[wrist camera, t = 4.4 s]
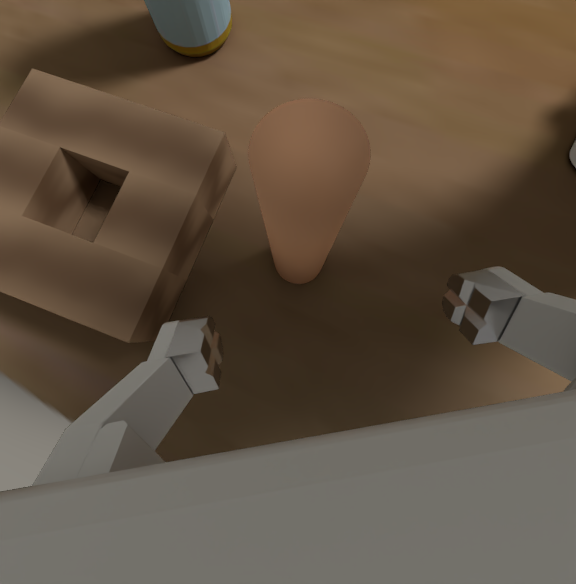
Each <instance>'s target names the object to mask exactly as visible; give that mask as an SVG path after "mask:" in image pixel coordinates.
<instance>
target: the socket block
mask: <svg viewBox="0 0 576 584" xmlns="http://www.w3.org/2000/svg"><path fill="white" fill-rule="evenodd" d="M235 170H236V164H235V161H234V158H233V155H232V152H231V149H230V146H229V143H228V140H227V137H226V134H225V132H223V131H220V130H217V129H214V128H211V127H208V126H205V125H202V124H199V123H196V122H193V121H190V120H187V119H184V118H181V117H178V116H175V115H172V114H169V113H166V112H163V111H160V110H157V109H154V108H151V107H148V106H145V105H141V104H138V103H135V102H132V101H129V100H126V99H123V98H120V97H117V96H114V95H111V94H108V93H105V92H102V91H99V90H96V89H93V88H90V87H87V86H84V85H81V84H78V83H75V82H72V81H69V80H66V79H63V78H60V77H57V76H54V75H51V74H48V73H45V72H42V71H39V70H36V69H33V68H32V70H31V71H30V73H29V75H28V76H27V78H26V80H25V81H24V83H23V85H22V86H21V88H20V89H19V91H18V93H17V94H16V96H15V98H14V99H13V101H12V103H11V104H10V106H9V108H8V109H7V111H6V113H5V114H4V116H3V118H2V119H1V121H0V292H2V293H5V294H7V295H10V296H12V297H15V298H17V299H20V300H22V301H25V302H27V303H30V304H32V305H35V306H37V307H40V308H42V309H45V310H47V311H50V312H52V313H55V314H57V315H60V316H62V317H65V318H67V319H70V320H72V321H75V322H77V323H80V324H82V325H85V326H87V327H90V328H92V329H95V330H97V331H100V332H102V333H105V334H107V335H110V336H112V337H115V338H117V339H120V340H122V341H125V342H127V343H136V342H150V341H156V338H157V336H158V334H159V331H160V329H161V327H162V325H163V324H164V323H166V322H168V321H169V319H170V317H171V315H172V312H173V310H174V308H175V306H176V303H177V301H178V299H179V297H180V294H181V292H182V290H183V287H184V285H185V283H186V281H187V278H188V276H189V274H190V272H191V269H192V267H193V265H194V263H195V260H196V258H197V256H198V253H199V251H200V249H201V247H202V244H203V242H204V240H205V238H206V235H207V233H208V231H209V229H210V226H211V224H212V222H213V219H214V217H215V215H216V213H217V210H218V208H219V206H220V204H221V201H222V199H223V197H224V194H225V192H226V190H227V188H228V185H229V183H230V181H231V179H232V176H233V174H234V172H235ZM100 179H101V180H104V181H106V182H109V183H112V184H115V185H118V186H120V187H121V189H120V191H119V193H118V195H117V197H116V199H115V201H114V203H113V205H112V207H111V209H110V211H109V213H108V215H107V217H106V219H105V220H104V222H103V224H102V226H101V228H100V230H99V232H98V234H97V236H96V238H95V240H94V242H90V241H88V240H85V239H82V238H80V237H77V236H74V235H72V233H73V231H74V229H75V227H76V225H77V223H78V221H79V219H80V218H81V216H82V214H83V212H84V210H85V208H86V206H87V204H88V202H89V200H90V198H91V196H92V194H93V193H94V191H95V189H96V187H97V185H98V183H99V181H100Z"/></svg>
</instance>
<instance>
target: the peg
mask: <svg viewBox="0 0 576 584" xmlns="http://www.w3.org/2000/svg"><path fill="white" fill-rule="evenodd" d="M248 157H249V164H250V169H251V173H252V177H253V180H254V184H255V188H256V192H257V196H258V200H259V204H260V208H261V212H262V216H263V220H264V224H265V228H266V232H267V236H268V240H269V244H270V248H271V252H272V256H273V260H274V264H275V268H276V270H277V272H278V274H279V275H280V276H281V277H282V278H283V279H284V280H286V281H288V282H290V283H294V284H304V283H307V282H310V281H311V280H313V279H314V278H315V277H316V276H317V275H318V274H319V272H320V271H321V269H322V266H323V264H324V262H325V260H326V258H327V256H328V254H329V252H330V250H331V248H332V245H333V243H334V241H335V239H336V237H337V235H338V233H339V231H340V229H341V227H342V224H343V222H344V220H345V218H346V216H347V214H348V212H349V210H350V208H351V206H352V203H353V201H354V199H355V197H356V195H357V193H358V191H359V189H360V187H361V185H362V182H363V180H364V178H365V176H366V174H367V172H368V168H369V165H370V158H371V149H370V143H369V139H368V136H367V134H366V132H365V130H364V128H363V126H362V125H361V123H360V122H359V121H358V120H357V118H356V117H355V116H354V115H353V114H351V113H350V112H349V111H348V110H346V109H345V108H343V107H341V106H339V105H338V104H335V103H333V102H330V101H326V100H322V99H315V98H304V99H297V100H292V101H289V102H286V103H283V104H281V105H279V106H277V107H276V108H274V109H273V110H271V111H270V112H269V113H267V114H266V115H265V116H264V117H263V118H262V119H261V120H260V122H259V123H258V124H257V126H256V128H255V129H254V131H253V133H252V136H251V139H250V143H249V150H248Z"/></svg>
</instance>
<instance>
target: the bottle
mask: <svg viewBox="0 0 576 584" xmlns="http://www.w3.org/2000/svg"><path fill="white" fill-rule="evenodd" d="M144 1H145V3H146V6H147V8H148V10H149V12H150V15H151V17H152V19H153V21H154V24H155V26H156V28H157V30H158V32H159V34H160V36H161V38H162V40H163V41H164V42H165V43H166V45H167V46H169V47H170V48H172V49H173V50H175V51H177V52H179V53H180V54H182V55H186V56H190V57H202V56H205V55H209V54H211V53H213V52H215V51H216V50H218V49H219V48H220V47H221V46H222V45H223V44H224V42H225V41H226V39H227V37H228V35H229V33H230V30H231V27H232V15H231V8H230V3H229V0H144Z"/></svg>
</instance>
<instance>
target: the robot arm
mask: <svg viewBox="0 0 576 584" xmlns="http://www.w3.org/2000/svg"><path fill="white" fill-rule="evenodd" d="M569 156H570V160H571V162H572V164H573V165H574V166H575V168H576V140H575V142H574V144H573V146H572V148H571V150H570V155H569ZM447 286H448V288H449V289H450V290H449V291H448V292H447V293H446V294H445V295H444V297H443V301H442V306H443V311H444V313H445V315H446V317H447V318H448V319H449V320H450V321H451V322H453V323H456V324H458V325H459V331H460V332H461V333H462V334H463V335H464V336H465V337H466V338H467V339H468V341H469V342H470V343H471V344H472V345H476V344H483V343H490V342H496V341H499V343H501V344H503V345H504V346H506V347H508V348H510V349H512V350H514V351H516V352H518V353H519V354H521V355H523V356H525V357H527V358H529V359H531V360H533V361H534V362H536V363H538V364H540V365H542V366H544V367H546V368H547V369H549V370H551V371H553V372H555V373H557V374H559V375H561V376H562V377H564V378H566V379H568V380H570V381H572V382H571V383H570V384H569V385H568V386H567V387H566V389H565V390H564V392H560V393H554V394H549V395H543V396H537V397H532V398H526V399H520V400H515V401H509V402H503V403H498V404H492V405H487V406H481V407H475V408H470V409H464V410H458V411H453V412H447V413H441V414H436V415H430V416H424V417H419V418H413V419H408V420H402V421H396V422H391V423H385V424H380V425H374V426H368V427H363V428H357V429H351V430H346V431H340V432H335V433H329V434H323V435H318V436H312V437H306V438H301V439H295V440H290V441H284V442H278V443H273V444H267V445H261V446H256V447H250V448H244V449H239V450H233V451H228V452H222V453H216V454H211V455H205V456H199V457H194V458H188V459H182V460H177V461H171V462H165V461H164V460H163V459H162V458H161V457H160V456H159V455H158V454H157V453H156V452H155V450H156V448H157V447H158V445H159V444H160V443H161V441H162V440H163V438H164V437H165V435H166V434H167V432H168V431H169V430H170V428H171V427H172V425H173V424H174V422H175V421H176V420H177V418H178V417H179V415H180V414H181V412H182V411H183V410H184V408H185V407H186V405H187V404H188V402H189V401H190V400H191V398H192V397H193V394H197V393H202V392H207V391H212V390H217V389H219V385H220V378H221V370H220V368H219V364H220V363H221V362H222V361H223V344H222V340H221V337H220V335H219V333H217V332H215V331H214V330H215V322H214V320H213V318H212V317H211V316H204V317H198V318H191V319H184V320H180V321H172V322H166V323H164V324H163V325H162V327H161V329H160V331H159V334H158V336H157V338H156V341H155V343H154V345H153V348H152V350H151V353H150V355H149V357H148V360H147V361H146V362H142V363H140V364H139V365H138V366H137V367H136V368H135V369H134V370H132V371H131V372H130V373H129V374H128V375H127V376H126V377H124V378H123V379H122V380H121V381H120V382H119V383H118V384H116V385H115V386H114V387H113V388H112V389H111V390H109V391H108V392H107V393H106V394H105V395H104V396H103V397H101V398H100V399H99V400H98V401H97V402H96V403H95V404H93V405H92V406H91V407H90V408H89V409H88V410H87V411H85V412H84V413H83V414H82V415H81V416H80V417H79V418H77V419H76V420H75V421H74V422H73V423H72V424H71V425H69V426H68V427H67V428H66V429H65V431H64V432H63V434H62V436H61V437H60V439H59V441H58V442H57V444H56V446H55V448H54V450H53V451H52V453H51V455H50V456H49V458H48V460H47V461H46V463H45V465H44V467H43V468H42V470H41V472H40V474H39V475H38V477H37V478H36V480H35V482H34V483H33V485H32V486H30V487H24V488H18V489H12V490H7V491H1V492H0V584H576V300H575V299H572V298H568V297H564V296H561V295H557V294H554V293H550V292H548V293H543V292H542V291H540V290H539V289H537V288H535V287H534V286H532V285H531V284H529V283H527V282H526V281H524V280H523V279H521V278H520V277H518V276H516V275H515V274H513V273H512V272H510V271H509V270H507V269H505V268H504V267H499V266H495V267H490V268H485V269H482V270H477V271H471V272H465V273H459V274H454V275H452V276H451V277H450V278H449V280H448V283H447Z"/></svg>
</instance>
